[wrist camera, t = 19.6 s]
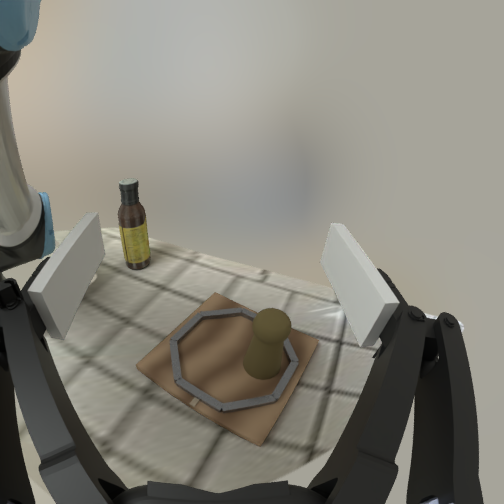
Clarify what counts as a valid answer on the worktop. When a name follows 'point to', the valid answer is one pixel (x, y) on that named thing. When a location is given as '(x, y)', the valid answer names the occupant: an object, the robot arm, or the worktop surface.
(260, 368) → the cork
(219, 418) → the walnut board
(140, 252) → the sauce bottle
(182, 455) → the worktop surface
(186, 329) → the steel ring
